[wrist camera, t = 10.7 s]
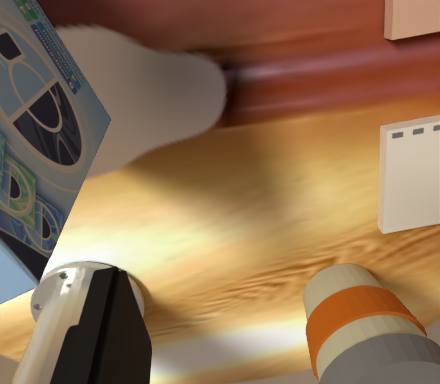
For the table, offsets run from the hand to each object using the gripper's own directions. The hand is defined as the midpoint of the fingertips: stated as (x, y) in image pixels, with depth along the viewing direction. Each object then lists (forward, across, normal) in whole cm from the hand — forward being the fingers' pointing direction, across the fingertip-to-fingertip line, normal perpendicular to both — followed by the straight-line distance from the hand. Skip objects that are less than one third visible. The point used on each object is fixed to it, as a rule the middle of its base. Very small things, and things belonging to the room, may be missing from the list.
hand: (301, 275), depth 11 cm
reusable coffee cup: (+28, -10, +29) cm, 42 cm away
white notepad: (+28, -22, +14) cm, 39 cm away
